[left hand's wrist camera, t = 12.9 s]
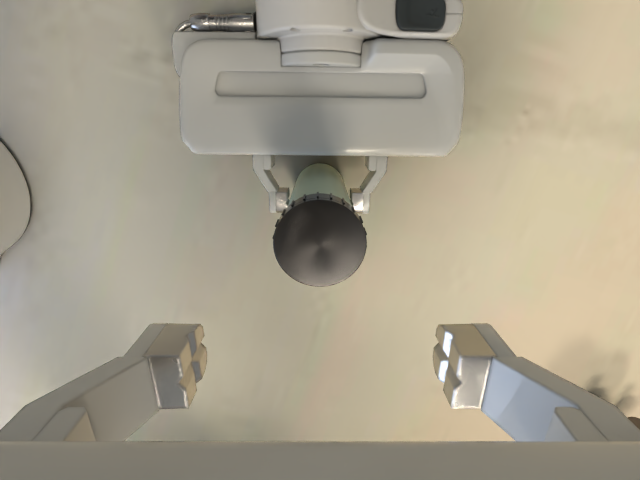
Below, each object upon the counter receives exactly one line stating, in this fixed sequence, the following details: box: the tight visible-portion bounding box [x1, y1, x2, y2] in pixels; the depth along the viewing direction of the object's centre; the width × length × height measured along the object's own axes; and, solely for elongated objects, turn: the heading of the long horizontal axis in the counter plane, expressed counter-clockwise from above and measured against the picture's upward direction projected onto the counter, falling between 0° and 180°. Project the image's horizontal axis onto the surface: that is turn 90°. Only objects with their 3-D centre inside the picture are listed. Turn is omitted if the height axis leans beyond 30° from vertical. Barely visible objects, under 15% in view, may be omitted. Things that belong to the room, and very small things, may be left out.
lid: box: [273, 192, 367, 286], centre depth 19 cm, size 5×5×2 cm
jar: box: [288, 163, 352, 206], centre depth 25 cm, size 5×5×14 cm
